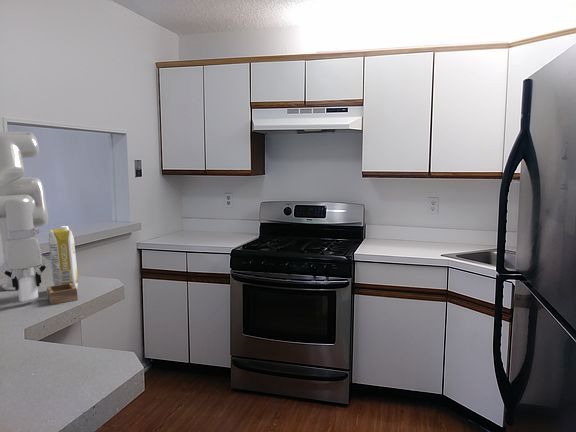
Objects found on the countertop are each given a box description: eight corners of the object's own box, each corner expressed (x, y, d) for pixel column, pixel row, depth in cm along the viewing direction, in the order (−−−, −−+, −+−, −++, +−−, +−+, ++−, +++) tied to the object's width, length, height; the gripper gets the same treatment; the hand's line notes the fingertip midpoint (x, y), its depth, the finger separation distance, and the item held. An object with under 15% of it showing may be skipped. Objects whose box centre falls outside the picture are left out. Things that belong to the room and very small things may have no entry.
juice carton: (80, 291, 169) (73, 226, 166) (56, 295, 165) (49, 229, 162) (76, 285, 177) (70, 224, 174) (53, 289, 173) (46, 226, 170)
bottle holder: (47, 298, 162) (46, 286, 161) (72, 293, 166) (71, 282, 166) (51, 304, 154) (50, 293, 153) (77, 299, 158) (76, 288, 158)
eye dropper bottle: (37, 300, 155) (33, 265, 153) (18, 302, 153) (14, 267, 151) (39, 296, 159) (35, 262, 157) (20, 299, 157) (16, 264, 155)
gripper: (48, 229, 160) (54, 280, 163) (-10, 236, 151) (-4, 289, 153) (52, 232, 154) (57, 285, 157) (-9, 239, 145) (-2, 295, 147)
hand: (27, 286), depth 155 cm, fingers closed on eye dropper bottle, 5 cm apart
